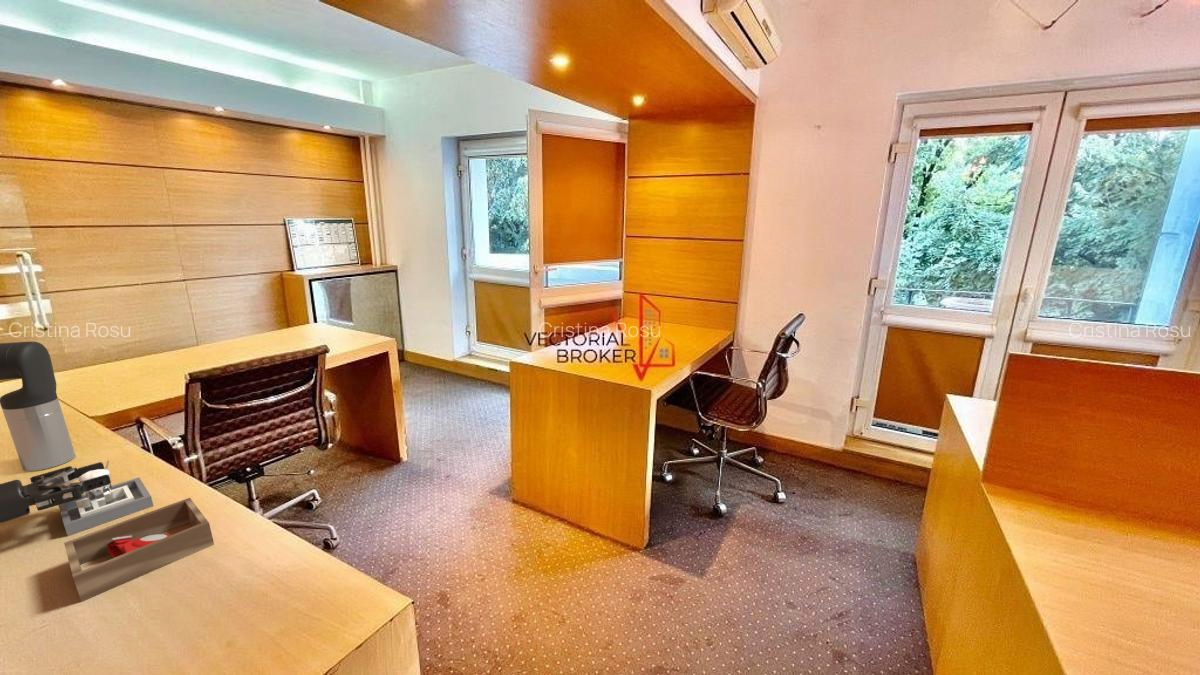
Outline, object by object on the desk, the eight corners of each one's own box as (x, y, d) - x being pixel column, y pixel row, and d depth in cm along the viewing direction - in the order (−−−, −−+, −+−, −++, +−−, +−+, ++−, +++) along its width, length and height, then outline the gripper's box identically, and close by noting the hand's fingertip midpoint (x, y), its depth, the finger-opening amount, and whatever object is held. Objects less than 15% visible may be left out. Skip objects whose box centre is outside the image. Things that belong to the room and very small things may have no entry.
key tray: (71, 565, 86) (63, 542, 84) (194, 517, 100) (189, 497, 98) (81, 601, 78) (73, 577, 76) (214, 544, 91) (209, 522, 90)
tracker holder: (189, 527, 95) (168, 545, 86) (185, 549, 94) (164, 570, 85) (110, 530, 89) (79, 550, 80) (106, 553, 89) (75, 576, 80)
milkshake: (128, 500, 105) (117, 461, 102) (101, 514, 99) (88, 473, 97) (110, 499, 105) (99, 460, 103) (82, 513, 100) (70, 472, 97)
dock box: (60, 512, 101) (57, 502, 101) (141, 486, 111) (139, 477, 111) (67, 536, 94) (64, 525, 93) (153, 505, 104) (150, 496, 103)
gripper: (-19, 503, 84) (107, 467, 96) (-20, 478, 92) (97, 447, 105) (-6, 538, 86) (116, 498, 98) (-8, 510, 94) (105, 476, 107)
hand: (106, 472), depth 101 cm, fingers open, 8 cm apart
